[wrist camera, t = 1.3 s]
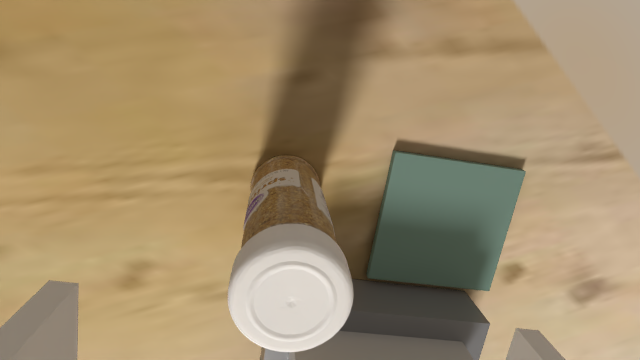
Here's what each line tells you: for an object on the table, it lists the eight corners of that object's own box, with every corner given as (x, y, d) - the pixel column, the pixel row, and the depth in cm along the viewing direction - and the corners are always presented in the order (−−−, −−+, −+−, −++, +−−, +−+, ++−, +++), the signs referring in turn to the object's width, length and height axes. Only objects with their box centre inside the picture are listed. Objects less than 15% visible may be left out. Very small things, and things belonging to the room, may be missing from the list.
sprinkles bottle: (261, 144, 27) (245, 228, 14) (330, 165, 28) (374, 262, 15) (242, 210, 28) (211, 343, 15) (308, 228, 29) (332, 369, 16)
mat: (366, 273, 30) (367, 278, 30) (393, 150, 28) (395, 152, 27) (485, 286, 31) (489, 291, 31) (520, 169, 29) (525, 171, 28)
